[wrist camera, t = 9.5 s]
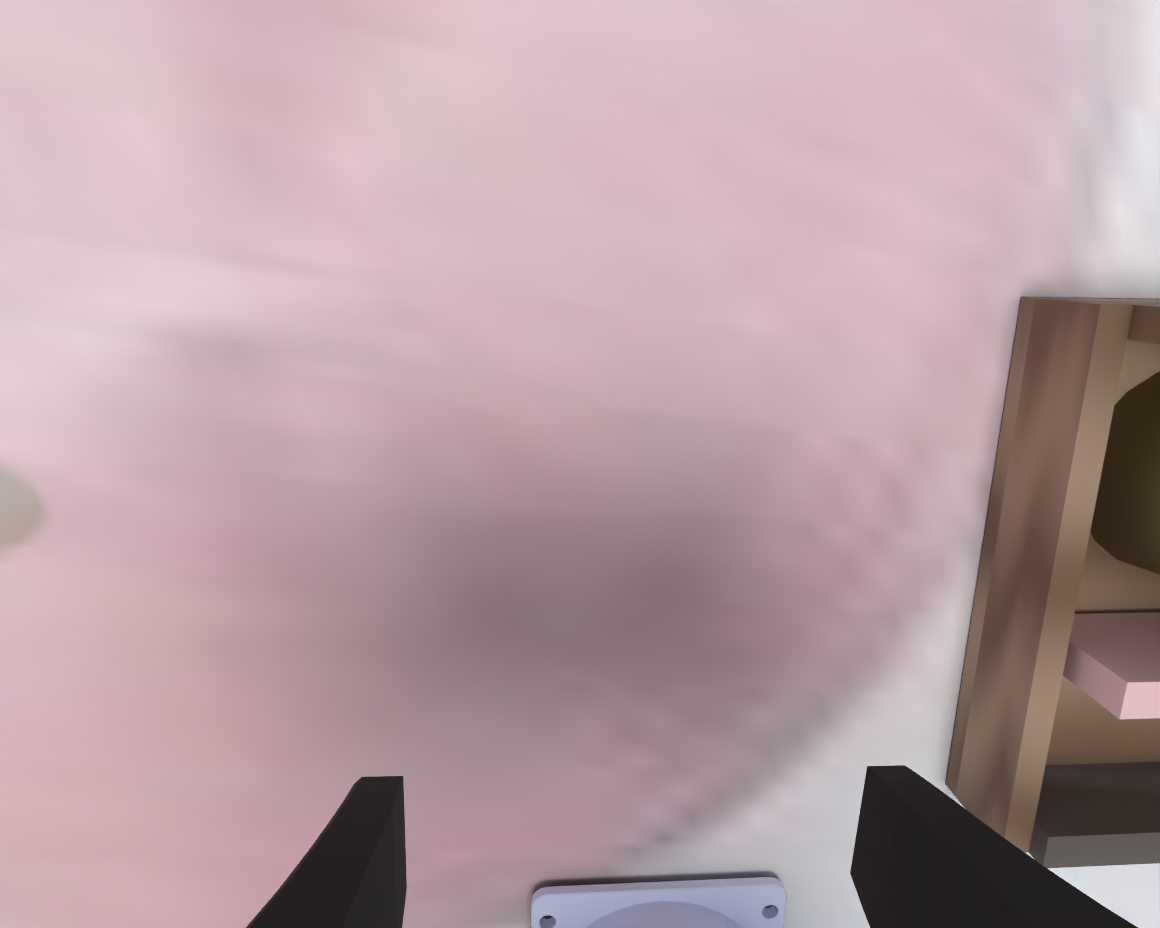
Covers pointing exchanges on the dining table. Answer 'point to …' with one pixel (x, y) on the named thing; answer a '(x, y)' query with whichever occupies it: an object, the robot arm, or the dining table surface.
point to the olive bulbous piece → (1132, 480)
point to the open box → (1057, 602)
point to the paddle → (1117, 661)
